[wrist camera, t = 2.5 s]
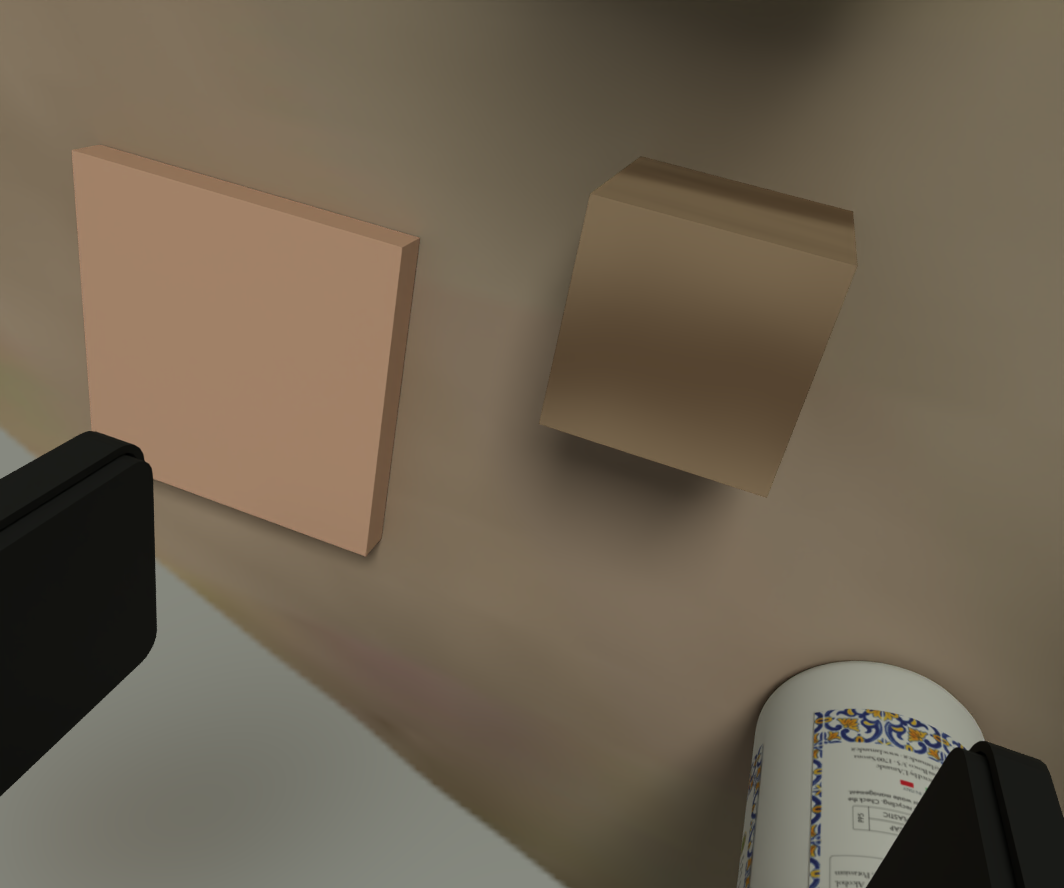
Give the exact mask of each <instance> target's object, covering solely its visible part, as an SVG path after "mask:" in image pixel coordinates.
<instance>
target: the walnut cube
mask: <svg viewBox="0 0 1064 888" xmlns="http://www.w3.org/2000/svg"><path fill="white" fill-rule="evenodd" d="M856 269H857V254H856V242H855V231H854V219H853V212H852V211H848V210H844V209H841V208H837V207H833V206H829V205H825V204H821V203H818V202H814V201H810V200H806V199H802V198H798V197H795V196H791V195H787V194H783V193H779V192H775V191H772V190H768V189H764V188H760V187H756V186H752V185H749V184H745V183H741V182H737V181H733V180H729V179H726V178H722V177H718V176H714V175H710V174H706V173H703V172H699V171H695V170H691V169H687V168H683V167H680V166H676V165H672V164H668V163H664V162H660V161H657V160H653V159H649V158H645V157H639V158H638V159H637V160H635V161H634V162H633V163H631V164H630V165H628V166H627V167H626V168H624V169H623V170H622V171H620V172H619V173H618V174H616V175H615V176H614V177H612V178H611V179H609V180H608V181H607V182H605V183H604V184H603V185H601V186H600V187H599V188H597V189H596V190H595V191H593V192H592V193H590V197H589V201H588V206H587V210H586V215H585V219H584V224H583V228H582V233H581V237H580V242H579V246H578V251H577V255H576V260H575V264H574V269H573V273H572V278H571V282H570V287H569V291H568V296H567V300H566V305H565V309H564V314H563V318H562V323H561V327H560V332H559V336H558V340H557V345H556V349H555V354H554V358H553V363H552V367H551V372H550V376H549V381H548V385H547V390H546V394H545V399H544V403H543V408H542V412H541V417H540V421H539V424H541V425H544V426H547V427H550V428H553V429H556V430H559V431H562V432H565V433H568V434H572V435H575V436H578V437H581V438H584V439H587V440H590V441H593V442H596V443H599V444H602V445H605V446H609V447H612V448H615V449H618V450H621V451H624V452H627V453H630V454H633V455H636V456H639V457H642V458H646V459H649V460H652V461H655V462H658V463H661V464H664V465H667V466H670V467H673V468H676V469H679V470H683V471H686V472H689V473H692V474H695V475H698V476H701V477H704V478H707V479H710V480H713V481H716V482H720V483H723V484H726V485H729V486H732V487H735V488H738V489H741V490H744V491H747V492H750V493H753V494H756V495H760V496H763V497H766V498H767V496H768V494H769V491H770V488H771V486H772V483H773V481H774V478H775V476H776V473H777V471H778V468H779V465H780V463H781V460H782V458H783V455H784V453H785V450H786V448H787V445H788V442H789V440H790V437H791V435H792V432H793V430H794V427H795V425H796V422H797V420H798V417H799V414H800V412H801V409H802V407H803V404H804V402H805V399H806V397H807V394H808V391H809V389H810V386H811V384H812V381H813V379H814V376H815V374H816V371H817V368H818V366H819V363H820V361H821V358H822V356H823V353H824V351H825V348H826V345H827V343H828V340H829V338H830V335H831V333H832V330H833V328H834V325H835V322H836V320H837V317H838V315H839V312H840V310H841V307H842V305H843V302H844V300H845V297H846V294H847V292H848V289H849V287H850V284H851V282H852V279H853V277H854V274H855V271H856Z"/></svg>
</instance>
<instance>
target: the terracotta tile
mask: <svg viewBox="0 0 1064 888" xmlns="http://www.w3.org/2000/svg"><path fill="white" fill-rule="evenodd" d="M72 161H73V174H74V188H75V202H76V216H77V230H78V244H79V258H80V272H81V286H82V300H83V314H84V327H85V341H86V355H87V369H88V383H89V397H90V411H91V425H92V431H97V432H99V433H102V434H105V435H108V436H111V437H114V438H117V439H119V440H122V441H125V442H128V443H131V444H134V445H136V446H137V447H139V448H140V449H141V451H142V452H143V454H144V460H145V462H147V463H149V464H150V466H151V468H152V472H153V479H155V480H158V481H161V482H164V483H166V484H169V485H172V486H175V487H177V488H180V489H183V490H185V491H188V492H191V493H194V494H196V495H199V496H202V497H205V498H207V499H210V500H213V501H215V502H218V503H221V504H224V505H226V506H229V507H232V508H235V509H237V510H240V511H243V512H245V513H248V514H251V515H254V516H256V517H259V518H262V519H265V520H267V521H270V522H273V523H275V524H278V525H281V526H284V527H286V528H289V529H292V530H295V531H297V532H300V533H303V534H305V535H308V536H311V537H314V538H316V539H319V540H322V541H325V542H327V543H330V544H333V545H335V546H338V547H341V548H344V549H346V550H349V551H352V552H355V553H357V554H360V555H363V556H365V557H366V556H367V554H368V553H369V552H370V551H371V550H372V549H373V547H374V546H375V545H376V544H377V543H378V542H379V541H380V539H381V537H382V529H383V522H384V514H385V506H386V498H387V490H388V483H389V475H390V467H391V459H392V451H393V444H394V436H395V428H396V420H397V412H398V405H399V397H400V389H401V381H402V373H403V366H404V358H405V350H406V342H407V334H408V327H409V319H410V311H411V303H412V296H413V288H414V280H415V272H416V264H417V257H418V249H419V241H420V238H419V237H415V236H412V235H408V234H405V233H402V232H398V231H395V230H391V229H388V228H384V227H381V226H377V225H374V224H371V223H367V222H364V221H360V220H357V219H353V218H350V217H347V216H343V215H340V214H336V213H333V212H329V211H326V210H323V209H319V208H316V207H312V206H309V205H305V204H302V203H298V202H295V201H292V200H288V199H285V198H281V197H278V196H274V195H271V194H268V193H264V192H261V191H257V190H254V189H250V188H247V187H244V186H240V185H237V184H233V183H230V182H226V181H223V180H220V179H216V178H213V177H209V176H206V175H202V174H199V173H195V172H192V171H189V170H185V169H182V168H178V167H175V166H171V165H168V164H165V163H161V162H158V161H154V160H151V159H147V158H144V157H141V156H137V155H134V154H130V153H127V152H123V151H120V150H116V149H113V148H110V147H106V146H103V145H97V146H91V147H86V148H80V149H75V150H72Z"/></svg>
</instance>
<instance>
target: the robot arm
mask: <svg viewBox="0 0 1064 888" xmlns="http://www.w3.org/2000/svg"><path fill="white" fill-rule="evenodd" d="M155 580H156V579H155V538H154V498H153V472H152V468H151V466H150V464H149V463H147V462H145V460H144V454H143V452H142V451H141V449H140V448H139V447H137V446H136V445H134V444H131V443H128V442H125V441H122V440H119V439H117V438H114V437H111V436H108V435H105V434H102V433H99V432H97V431H87V432H85V433H82V434H80V435H78V436H76V437H74V438H73V439H71V440H69V441H67V442H65V443H64V444H62V445H60V446H58V447H57V448H55V449H53V450H51V451H49V452H48V453H46V454H44V455H42V456H41V457H39V458H37V459H35V460H33V461H32V462H30V463H28V464H26V465H25V466H23V467H21V468H19V469H18V470H16V471H14V472H12V473H10V474H9V475H7V476H5V477H3V478H1V479H0V796H1V795H2V794H3V793H4V792H5V791H6V790H7V789H9V788H10V787H11V786H12V785H13V784H14V783H15V782H16V781H17V780H18V779H19V778H20V777H21V776H22V775H23V774H24V773H25V772H26V771H28V770H29V768H31V767H32V766H33V765H34V764H35V763H36V762H37V761H38V760H39V759H40V758H41V757H42V756H43V755H44V754H45V753H46V752H48V751H49V749H51V748H52V747H53V746H54V745H55V744H56V743H57V742H58V741H59V740H60V739H61V738H62V737H63V736H64V735H65V734H66V733H67V732H69V731H70V730H71V729H72V728H73V727H74V726H75V725H76V724H77V723H78V722H79V721H80V720H81V719H82V718H83V717H84V716H85V715H86V714H87V713H89V712H90V711H91V710H92V709H93V708H94V707H95V706H96V705H97V704H98V703H99V702H100V701H101V700H102V699H103V698H104V697H105V696H106V695H107V694H109V692H111V691H112V690H113V689H114V688H115V687H116V686H117V685H118V684H119V683H120V682H121V681H122V680H123V679H124V678H125V677H126V676H127V675H129V674H130V673H131V672H132V671H133V670H134V669H135V668H136V667H137V666H138V665H139V664H140V663H141V662H142V661H143V660H144V659H145V658H146V657H147V655H148V653H149V652H150V650H151V648H152V646H153V644H154V641H155V638H156V633H157V618H156V581H155ZM866 888H1064V818H1063V815H1062V811H1061V808H1060V805H1059V801H1058V798H1057V795H1056V792H1055V788H1054V785H1053V782H1052V779H1051V775H1050V773H1049V771H1048V768H1047V766H1046V765H1045V764H1044V763H1043V762H1042V761H1041V760H1038V759H1036V758H1033V757H1030V756H1027V755H1024V754H1021V753H1018V752H1015V751H1013V750H1010V749H1007V748H1004V747H1001V746H998V745H995V744H992V743H990V742H987V741H979V742H977V743H975V744H974V745H973V746H972V747H971V749H970V750H966V749H963V748H959V747H956V748H954V749H953V750H952V751H951V752H950V753H949V754H948V756H947V757H946V759H945V761H944V762H943V764H942V765H941V767H940V769H939V770H938V772H937V774H936V775H935V777H934V778H933V780H932V782H931V783H930V785H929V786H928V788H927V790H926V791H925V793H924V795H923V796H922V798H921V799H920V801H919V803H918V804H917V806H916V807H915V809H914V811H913V812H912V814H911V816H910V817H909V819H908V820H907V822H906V824H905V825H904V827H903V828H902V830H901V832H900V833H899V835H898V837H897V838H896V840H895V841H894V843H893V845H892V846H891V848H890V849H889V851H888V853H887V854H886V856H885V858H884V859H883V861H882V862H881V864H880V866H879V867H878V869H877V870H876V872H875V874H874V875H873V877H872V879H871V880H870V882H869V883H868V885H867V887H866Z"/></svg>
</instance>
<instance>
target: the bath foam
mask: <svg viewBox="0 0 1064 888" xmlns="http://www.w3.org/2000/svg"><path fill="white" fill-rule="evenodd" d="M979 741H985V740H984V737H983V735H982V732H981V730H980V728H979V726H978V724H977V723H976V721H975V720H974V718H973V717H972V715H971V714H970V713H969V712H968V711H967V709H966V708H965V707H964V706H963V705H962V704H961V703H960V702H959V701H958V700H957V699H956V698H955V697H953V696H952V695H951V694H950V693H949V692H948V691H946V690H945V689H944V688H942V687H941V686H940V685H938V684H937V683H935V682H933V681H932V680H930V679H928V678H926V677H924V676H922V675H920V674H917V673H915V672H912V671H910V670H907V669H904V668H901V667H897V666H893V665H889V664H884V663H878V662H869V661H843V662H835V663H829V664H824V665H820V666H817V667H814V668H811V669H808V670H806V671H803V672H801V673H799V674H797V675H795V676H794V677H792V678H790V679H789V680H787V681H786V682H785V683H783V684H782V685H781V686H780V687H779V688H777V689H776V690H775V691H774V693H773V694H772V695H771V696H770V697H769V699H768V700H767V702H766V703H765V705H764V707H763V708H762V711H761V713H760V715H759V718H758V722H757V726H756V731H755V738H754V747H753V755H752V764H751V770H750V777H749V785H748V794H747V803H746V812H745V820H744V829H743V838H742V846H741V855H740V864H739V873H738V881H737V888H866V887H867V885H868V883H869V882H870V880H871V879H872V877H873V875H874V874H875V872H876V870H877V869H878V867H879V866H880V864H881V862H882V861H883V859H884V858H885V856H886V854H887V853H888V851H889V849H890V848H891V846H892V845H893V843H894V841H895V840H896V838H897V837H898V835H899V833H900V832H901V830H902V828H903V827H904V825H905V824H906V822H907V820H908V819H909V817H910V816H911V814H912V812H913V811H914V809H915V807H916V806H917V804H918V803H919V801H920V799H921V798H922V796H923V795H924V793H925V791H926V790H927V788H928V786H929V785H930V783H931V782H932V780H933V778H934V777H935V775H936V774H937V772H938V770H939V769H940V767H941V765H942V764H943V762H944V761H945V759H946V757H947V756H948V754H949V753H950V752H951V751H952V750H953V749H954V748H956V747H959V748H963V749H966V750H970V749H971V747H972V746H973V745H974V744H975V743H977V742H979Z"/></svg>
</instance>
